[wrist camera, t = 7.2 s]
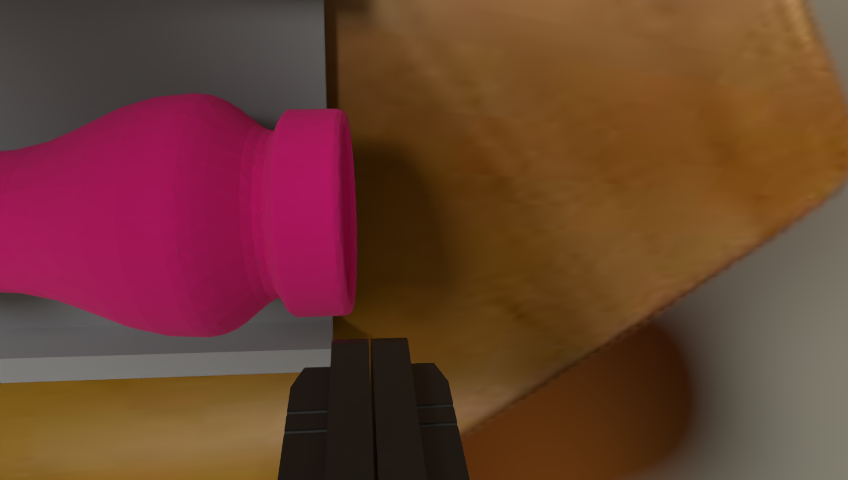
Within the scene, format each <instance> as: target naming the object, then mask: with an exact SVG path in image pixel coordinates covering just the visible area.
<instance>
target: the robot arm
mask: <svg viewBox="0 0 848 480" xmlns="http://www.w3.org/2000/svg"><path fill="white" fill-rule="evenodd" d="M278 480H469V475H468V470H467V466H466V461H465V456H464V452H463V447H462V443H461V438H460V433H459V429H458V426H457V420H456V415H455V410H454V408H453V401H452V397H451V392H450V387H449V383H448V380H447V379H446V378H445V377H444V375H443V374H442V373H441V372H440V370H439V369H438V368H437V366H436V365H435V364H434V363H416V364H411V360H410V353H409V346H408V340H407V338H379V339H371V364H370V370H369V345H368V339H349V340H332V345H331V364H330V367H306V368H304V369H303V370H302V372H301V373H300V375H299V376H298V378H297V379H296V380H295V382H294V383H293V385H292V386H291V388H290V395H289V402H288V409H287V416H286V424H285V434H284V438H283V445H282V452H281V460H280V467H279V474H278Z"/></svg>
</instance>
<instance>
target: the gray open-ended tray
mask: <svg viewBox="0 0 848 480" xmlns="http://www.w3.org/2000/svg"><path fill="white" fill-rule="evenodd" d="M190 93H199V94H210V95H214V96H217V97H219V98H222V99H224V100H226V101H228V102H229V103H231V104H233V105H234V106H236V107H238V108H239V109H241V110H242V111H243V112H245V113H246V114H247V115H248V116H250V117H251V118H252V119H253V120H255V121H256V122H257V123H259V124H260V125H261V126H263V127H265V128H267V129H269V130H273V131H274V130H275V127H276V125H277V122H278V120H279V119H280V117H281V115H282V114H283V113H284V112H285V111H286V110H290V109H327V87H326V50H325V14H324V0H0V151H9V150H17V149H21V148H25V147H29V146H32V145H36V144H40V143H44V142H48V141H51V140H53V139H55V138H57V137H60V136H62V135H64V134H67V133H69V132H71V131H73V130H76V129H78V128H80V127H82V126H84V125H86V124H88V123H90V122H92V121H94V120H96V119H98V118H100V117H102V116H104V115H106V114H108V113H110V112H112V111H114V110H116V109H118V108H120V107H124V106H127V105H130V104H133V103H137V102H140V101H143V100H147V99H150V98H153V97H160V96H170V95H180V94H190ZM332 340H333V316H318V317H296V316H294V315H293V314H291V313H290V312H288V310H287V309H286V307H285V305H284V303H283V301H282V299H281V298H279V299H275V300H274V301H272V302H270V303H269V304H267V305H266V306H265V307H264V308H263V309H262V310H261V311H259V312H258V313H257V314H256V315H255V316H254V317H252V318H251V319H250V320H249V321H248V322H247V323H245V324H244V325H242V326H241V327H239V328H238V329H236V330H234V331H232V332H229V333H227V334H224V335H220V336H215V337H179V336H166V335H162V334H157V333H152V332H148V331H143V330H139V329H134V328H131V327H127V326H124V325H122V324H119V323H116V322H114V321H111V320H109V319H106V318H103V317H101V316H98V315H95V314H93V313H90V312H88V311H85V310H82V309H80V308H77V307H74V306H71V305H68V304H66V303H63V302H60V301H57V300H53V299H48V298H43V297H38V296H33V295H28V294H23V293H5V292H0V383H14V382H42V381H70V380H98V379H126V378H154V377H182V376H210V375H238V374H266V373H294V372H302V370H303V369H304V368H306V367H330V364H331V345H332Z"/></svg>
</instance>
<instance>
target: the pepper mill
mask: <svg viewBox="0 0 848 480" xmlns="http://www.w3.org/2000/svg"><path fill="white" fill-rule="evenodd" d="M356 278H357V213H356V192H355V174H354V161H353V150H352V141H351V133H350V127H349V122H348V117H347V115H346V113H345V112H344V111H342V110H340V109H290V110H286V111H285V112H284V113H283V114H282V115H281V117H280V119H279V120H278V122H277V125H276V127H275V130H274V131H273V130H269V129H267V128H265V127H263V126H261V125H260V124H259V123H257V122H256V121H255V120H253V119H252V118H251V117H250V116H248V115H247V114H246V113H245V112H243V111H242V110H241V109H239V108H238V107H236V106H234V105H233V104H231V103H229V102H228V101H226V100H224V99H222V98H219V97H217V96H214V95H210V94H199V93H190V94H180V95H170V96H160V97H153V98H150V99H147V100H143V101H140V102H137V103H133V104H130V105H127V106H124V107H120V108H118V109H116V110H114V111H112V112H110V113H108V114H106V115H104V116H102V117H100V118H98V119H96V120H94V121H92V122H90V123H88V124H86V125H84V126H82V127H80V128H78V129H76V130H73V131H71V132H69V133H67V134H64V135H62V136H60V137H57V138H55V139H53V140H51V141H48V142H44V143H40V144H36V145H32V146H29V147H25V148H21V149H17V150H9V151H0V292H5V293H23V294H28V295H33V296H38V297H43V298H48V299H53V300H57V301H60V302H63V303H66V304H68V305H71V306H74V307H77V308H80V309H82V310H85V311H88V312H90V313H93V314H95V315H98V316H101V317H103V318H106V319H109V320H111V321H114V322H116V323H119V324H122V325H124V326H127V327H131V328H134V329H139V330H143V331H148V332H152V333H157V334H162V335H166V336H179V337H215V336H220V335H224V334H227V333H229V332H232V331H234V330H236V329H238V328H239V327H241V326H242V325H244V324H245V323H247V322H248V321H249V320H250V319H251V318H252V317H254V316H255V315H256V314H257V313H258V312H259V311H261V310H262V309H263V308H264V307H265V306H266V305H267V304H269V303H270V302H272V301H274V300H275V299H279V298H281V299H282V301H283V303H284V305H285V307H286V309H287V310H288V312H290V313H291V314H293V315H294V316H296V317H318V316H342V315H348V314H350V313H351V312H352V310H353V308H354V302H355V293H356Z"/></svg>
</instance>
